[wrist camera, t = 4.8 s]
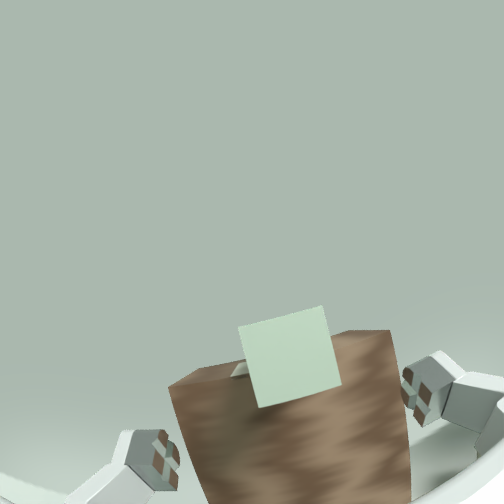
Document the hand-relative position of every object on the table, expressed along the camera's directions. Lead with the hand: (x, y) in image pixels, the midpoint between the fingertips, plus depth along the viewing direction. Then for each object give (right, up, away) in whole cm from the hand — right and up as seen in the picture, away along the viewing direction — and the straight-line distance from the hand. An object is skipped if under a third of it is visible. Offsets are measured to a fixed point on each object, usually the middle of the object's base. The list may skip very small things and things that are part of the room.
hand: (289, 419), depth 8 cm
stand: (+7, -28, +8) cm, 30 cm away
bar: (+1, -3, +12) cm, 12 cm away
